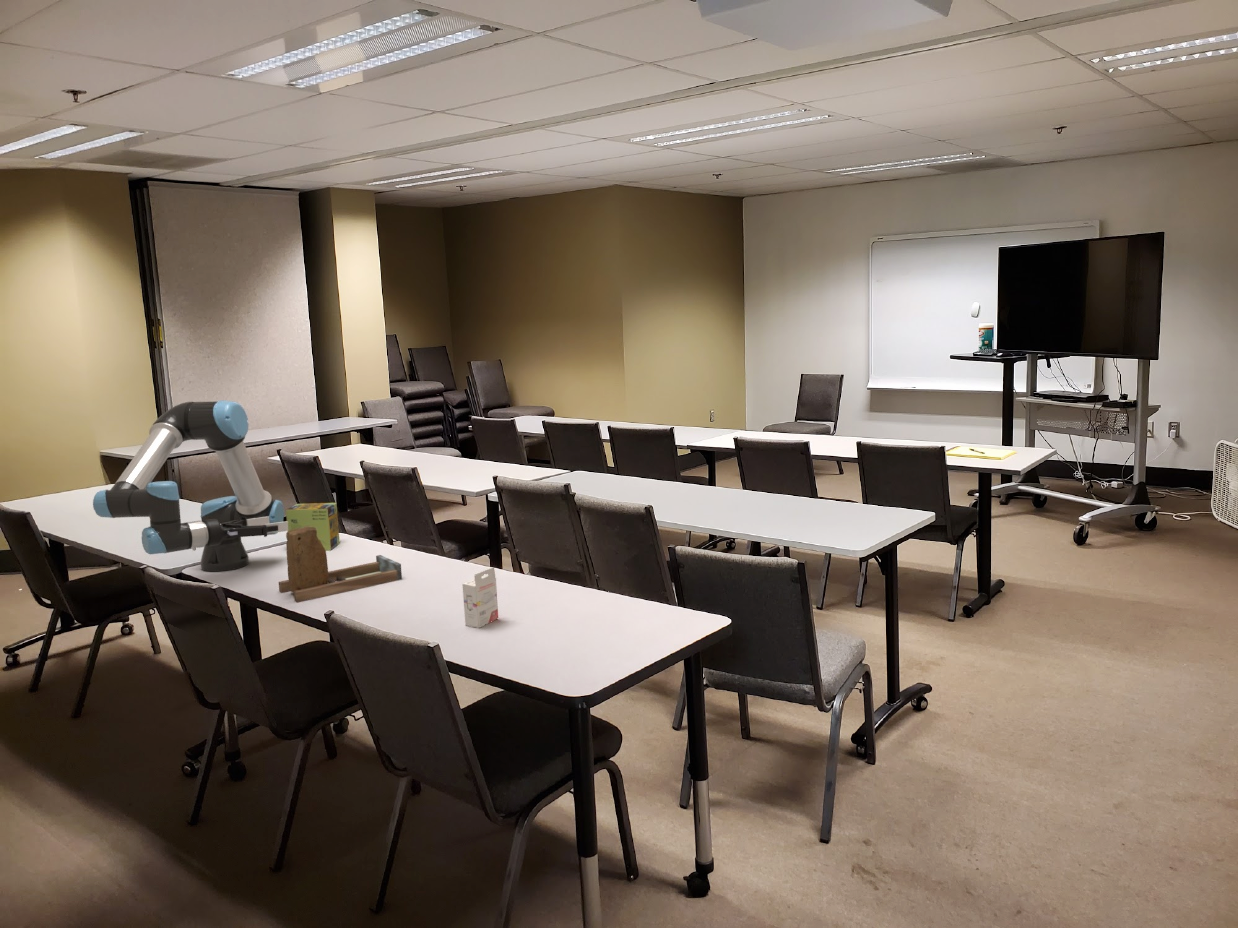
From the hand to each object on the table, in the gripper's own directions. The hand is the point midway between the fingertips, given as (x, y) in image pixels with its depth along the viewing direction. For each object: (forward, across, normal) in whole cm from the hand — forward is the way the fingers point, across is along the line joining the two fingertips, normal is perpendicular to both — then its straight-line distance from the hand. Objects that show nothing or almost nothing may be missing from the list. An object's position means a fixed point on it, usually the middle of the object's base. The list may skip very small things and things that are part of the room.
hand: (278, 523), depth 273 cm
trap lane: (+18, +1, -22) cm, 29 cm away
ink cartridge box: (+28, +63, -24) cm, 73 cm away
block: (+8, 0, -22) cm, 24 cm away
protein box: (+34, -51, -19) cm, 64 cm away
